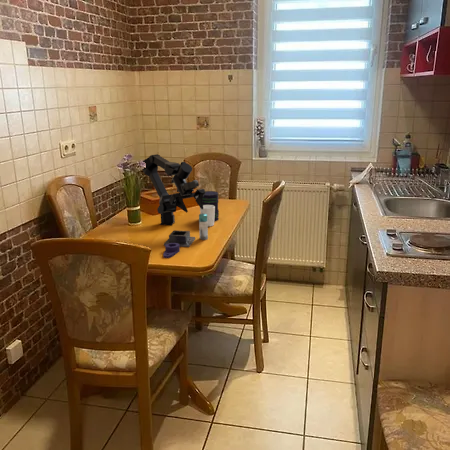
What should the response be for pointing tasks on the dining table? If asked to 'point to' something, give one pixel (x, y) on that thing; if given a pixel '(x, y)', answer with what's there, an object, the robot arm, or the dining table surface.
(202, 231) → the teal and silver cylinder
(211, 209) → the white cup
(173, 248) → the lever
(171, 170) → the robot arm
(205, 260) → the dining table surface
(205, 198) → the storage jar
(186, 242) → the docking mount
